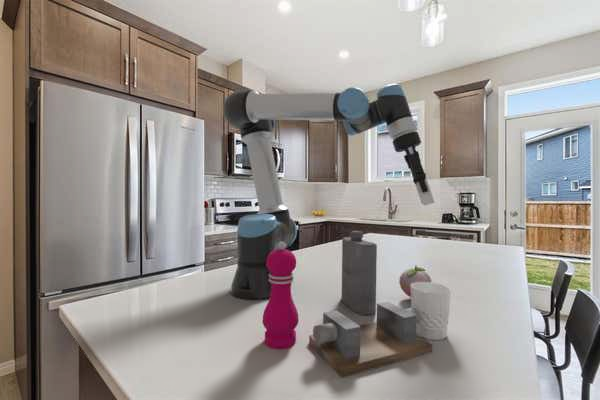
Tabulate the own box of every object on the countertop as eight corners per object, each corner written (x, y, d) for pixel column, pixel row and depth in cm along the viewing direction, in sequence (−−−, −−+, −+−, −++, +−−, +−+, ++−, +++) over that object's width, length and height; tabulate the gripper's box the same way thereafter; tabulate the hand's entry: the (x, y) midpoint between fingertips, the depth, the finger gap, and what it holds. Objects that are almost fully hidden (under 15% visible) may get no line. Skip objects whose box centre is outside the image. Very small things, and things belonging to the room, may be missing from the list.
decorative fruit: (405, 292, 90) (406, 260, 90) (433, 298, 85) (434, 264, 85) (394, 300, 83) (394, 265, 83) (424, 307, 78) (424, 270, 78)
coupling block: (302, 344, 57) (302, 311, 57) (393, 325, 67) (394, 296, 67) (333, 379, 46) (334, 338, 46) (437, 350, 56) (438, 316, 56)
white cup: (447, 345, 58) (448, 295, 57) (406, 335, 62) (407, 288, 62) (451, 330, 64) (452, 285, 64) (413, 322, 68) (414, 279, 68)
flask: (336, 296, 86) (337, 228, 86) (355, 295, 87) (356, 228, 87) (357, 316, 71) (358, 235, 71) (379, 314, 72) (380, 234, 72)
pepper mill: (300, 333, 62) (301, 239, 62) (296, 351, 55) (297, 245, 54) (266, 331, 62) (267, 238, 62) (258, 349, 55) (259, 243, 55)
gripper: (418, 120, 74) (446, 199, 72) (416, 139, 97) (437, 199, 95) (389, 131, 76) (415, 208, 74) (394, 147, 100) (414, 206, 98)
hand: (427, 203), depth 85 cm, fingers open, 13 cm apart
